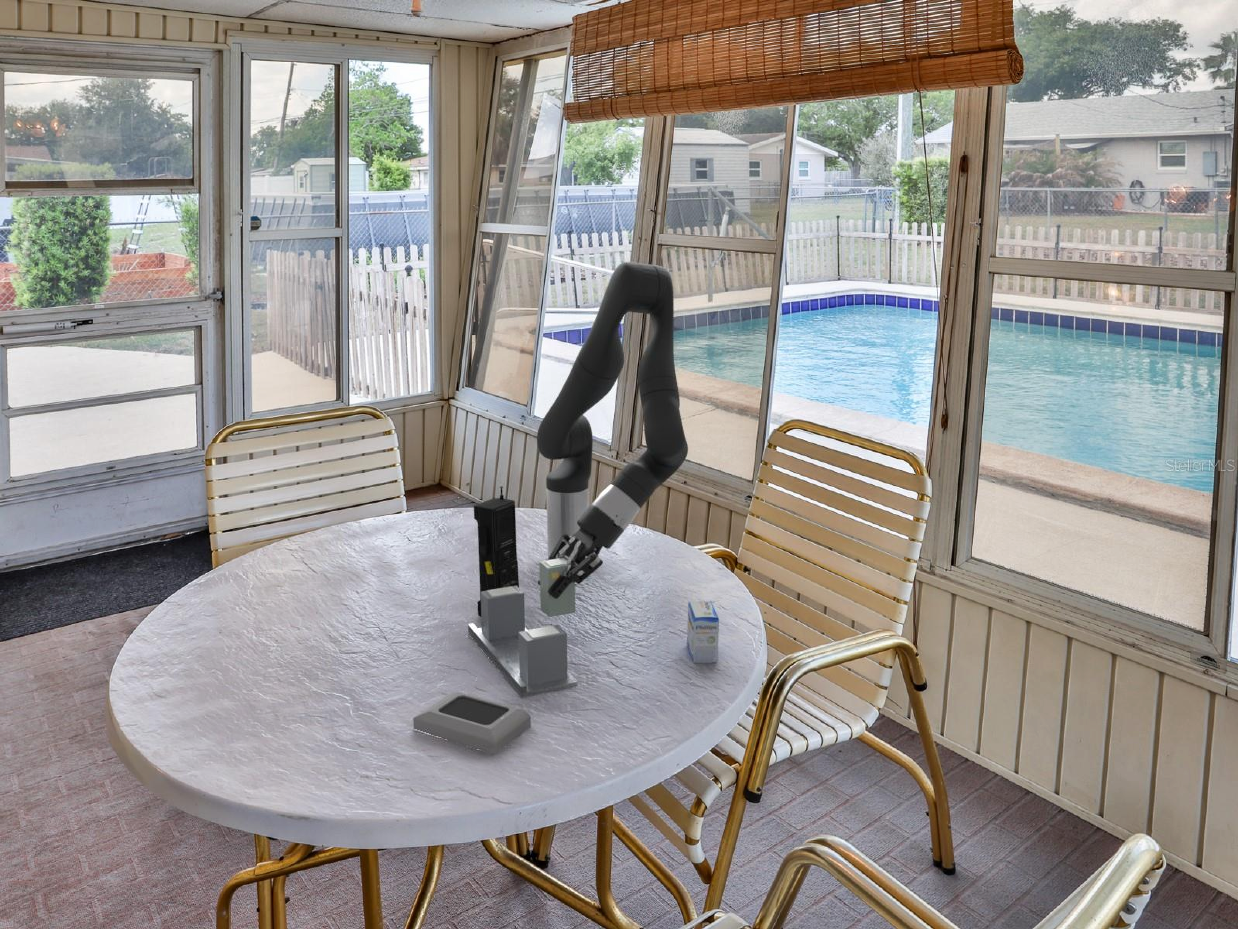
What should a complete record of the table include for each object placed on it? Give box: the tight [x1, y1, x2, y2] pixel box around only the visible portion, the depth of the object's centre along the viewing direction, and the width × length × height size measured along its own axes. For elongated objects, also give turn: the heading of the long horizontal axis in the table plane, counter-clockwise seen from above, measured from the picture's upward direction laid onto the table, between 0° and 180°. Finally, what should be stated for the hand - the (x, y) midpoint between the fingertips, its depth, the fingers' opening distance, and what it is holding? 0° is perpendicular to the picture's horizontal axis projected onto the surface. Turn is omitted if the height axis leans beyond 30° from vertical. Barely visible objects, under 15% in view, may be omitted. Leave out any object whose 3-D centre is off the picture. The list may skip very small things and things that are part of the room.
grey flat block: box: [412, 691, 532, 756], centre depth 157 cm, size 10×4×15 cm
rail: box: [467, 622, 579, 699], centre depth 181 cm, size 28×10×2 cm, turn 26°
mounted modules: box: [480, 586, 568, 686], centre depth 180 cm, size 24×7×8 cm, turn 26°
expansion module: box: [538, 558, 576, 618], centre depth 181 cm, size 4×5×9 cm
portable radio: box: [473, 486, 520, 618], centre depth 197 cm, size 8×6×25 cm
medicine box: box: [686, 600, 720, 664], centre depth 182 cm, size 8×4×9 cm, turn 5°
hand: (547, 591), depth 180 cm, fingers closed on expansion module, 4 cm apart
